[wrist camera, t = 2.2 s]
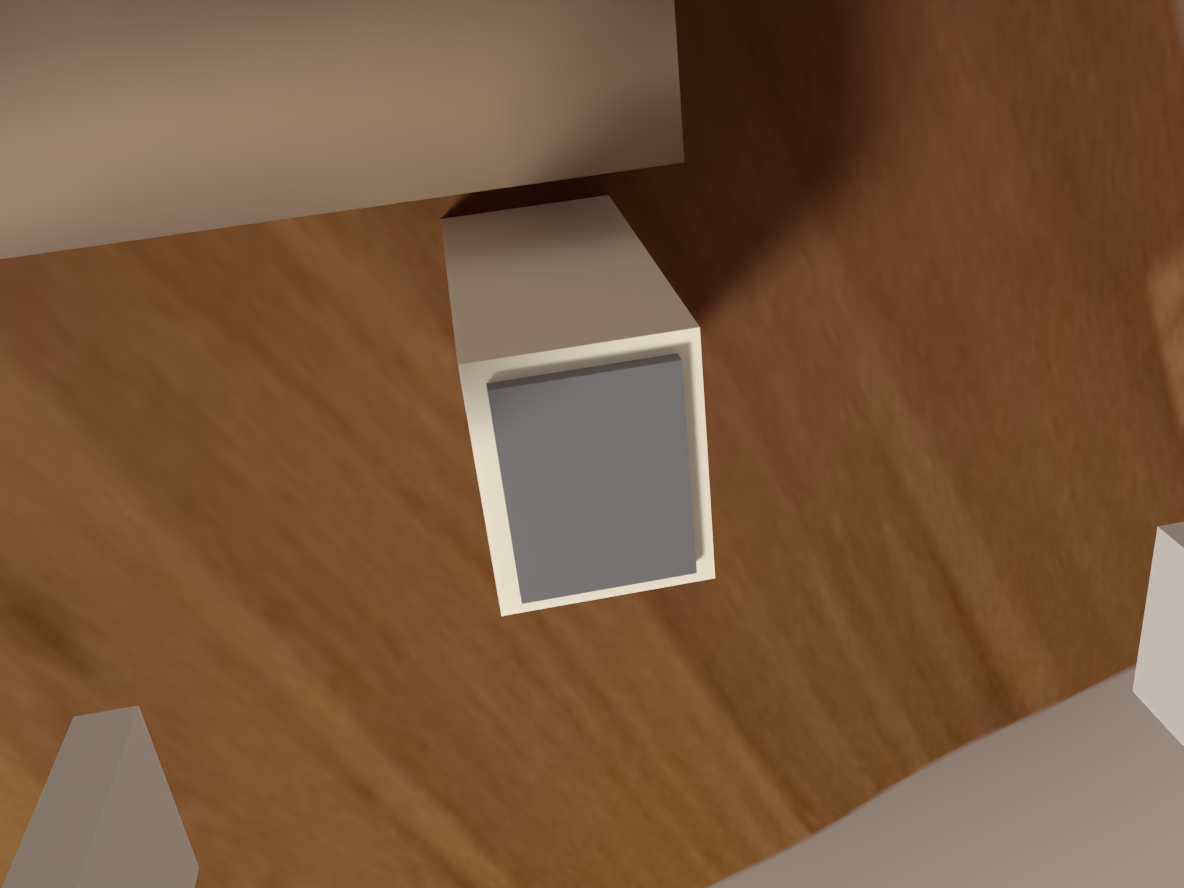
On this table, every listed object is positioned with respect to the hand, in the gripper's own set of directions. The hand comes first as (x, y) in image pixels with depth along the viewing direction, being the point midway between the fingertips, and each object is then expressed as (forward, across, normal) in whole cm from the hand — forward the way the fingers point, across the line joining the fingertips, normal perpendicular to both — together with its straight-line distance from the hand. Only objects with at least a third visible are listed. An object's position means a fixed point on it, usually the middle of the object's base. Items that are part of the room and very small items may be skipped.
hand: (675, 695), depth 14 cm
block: (+14, 0, 0) cm, 15 cm away
